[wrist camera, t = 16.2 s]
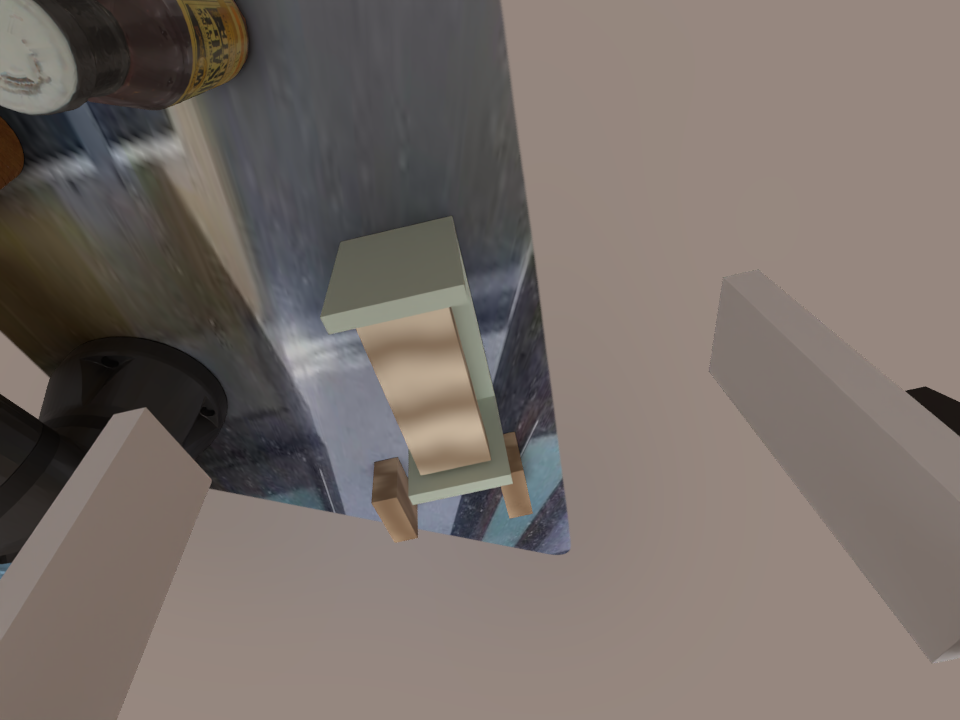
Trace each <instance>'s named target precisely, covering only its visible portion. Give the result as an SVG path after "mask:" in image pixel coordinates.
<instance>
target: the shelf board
mask: <svg viewBox="0 0 960 720" xmlns="http://www.w3.org/2000/svg"><path fill="white" fill-rule="evenodd" d="M356 330H357V333H358V335H359V337H360V339H361V342H362V344H363V346H364V348H365V351H366V353H367V355H368V357H369V360H370V362H371V364H372V366H373V369H374V371H375V373H376V375H377V378H378V380H379V382H380V384H381V387H382V389H383V391H384V393H385V396H386V398H387V400H388V403H389V405H390V407H391V409H392V412H393V414H394V416H395V418H396V421H397V423H398V425H399V427H400V430H401V432H402V434H403V436H404V439H405V441H406V443H407V445H408V448H409V450H410V452H411V454H412V457H413V459H414V461H415V463H416V466H417V468H418V470H419V473H420V475H426V474H431V473H435V472H440V471H444V470H449V469H454V468H458V467H463V466H468V465H472V464H477V463H481V462H486V461H491V455H490V449H489V443H488V439H487V435H486V431H485V428H484V424H483V421H482V417H481V413H480V410H479V406H478V402H477V399H476V395H475V391H474V388H473V384H472V381H471V377H470V373H469V370H468V366H467V362H466V359H465V355H464V351H463V348H462V344H461V341H460V337H459V333H458V330H457V326H456V322H455V319H454V315H453V311H452V308H451V307H448V308H444V309H439V310H435V311H431V312H426V313H422V314H417V315H413V316H409V317H404V318H400V319H395V320H391V321H387V322H382V323H378V324H373V325H369V326H365V327H360V328H356Z"/></svg>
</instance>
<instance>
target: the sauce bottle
mask: <svg viewBox="0 0 960 720" xmlns="http://www.w3.org/2000/svg"><path fill="white" fill-rule="evenodd" d="M248 42H249V41H248V33H247V25H246V21H245V18H244V17H243V15H242V14H241V12H240V10H239V8H238V7H237V5H236V3H235V2H234V0H0V105H1V106H3V107H5V108H9V109H12V110H14V111H17V112H20V113H24V114H28V115H52V114H56V113H61V112H64V111H70V110H74V109H76V108H79V107H80V106H81V105H83V104H84V103H85V102H87V101H90V102H96V103H103V104H110V105H117V106H124V107H132V108H139V109H147V110H161V109H165V108H168V107H170V106H173V105H175V104H178V103H181V102H182V101H184V100H187V99H189V98H192V97H194V96H196V95H199V94H201V93H203V92H206V91H208V90H210V89H212V88H215V87H217V86H219V85H222V84H224V83H226V82H228V81H230V80H231V79H232V78H234V77H235V76H236V75H237V73H238V72H239V71H240V69H241V68H242V66H243V64H244V63H245V61H246V59H247V54H248Z"/></svg>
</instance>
